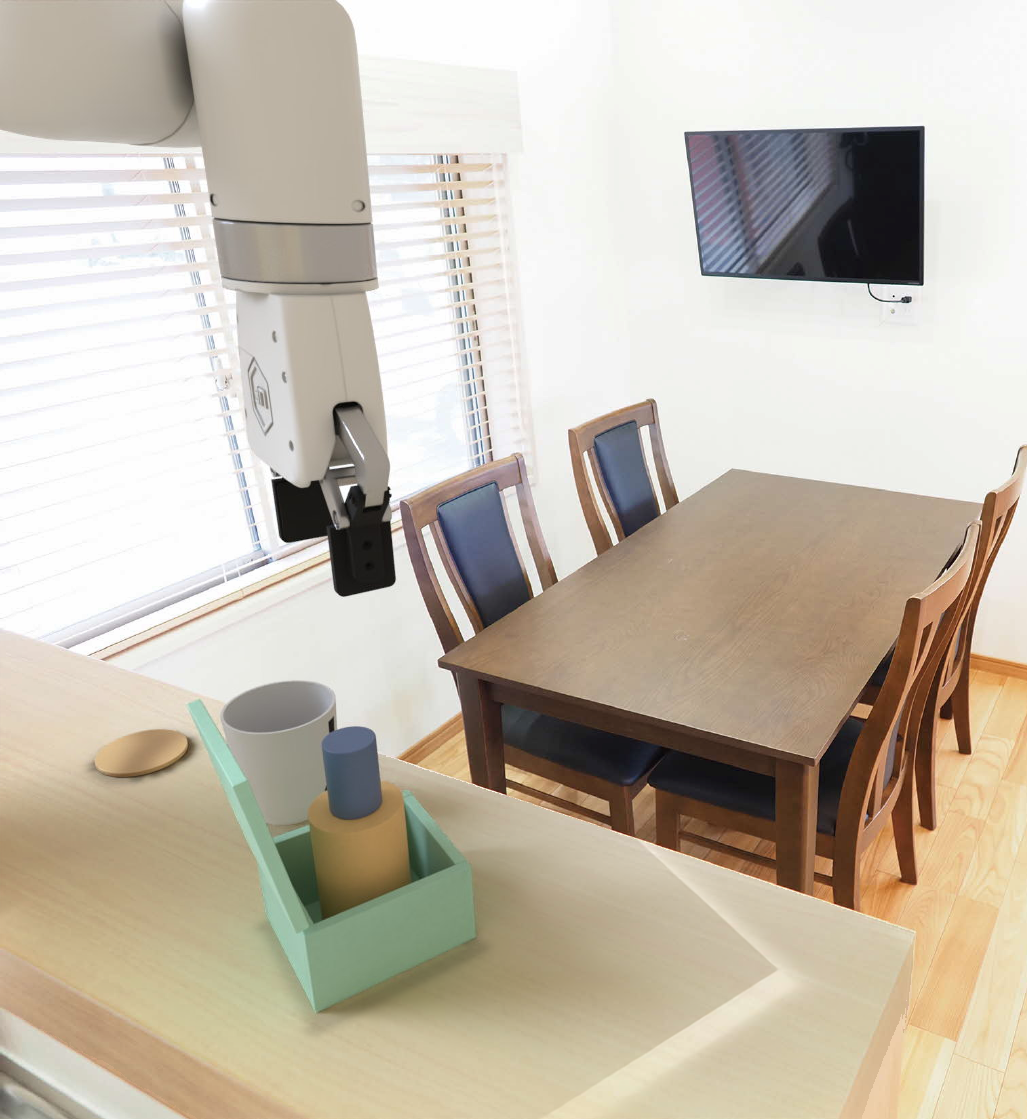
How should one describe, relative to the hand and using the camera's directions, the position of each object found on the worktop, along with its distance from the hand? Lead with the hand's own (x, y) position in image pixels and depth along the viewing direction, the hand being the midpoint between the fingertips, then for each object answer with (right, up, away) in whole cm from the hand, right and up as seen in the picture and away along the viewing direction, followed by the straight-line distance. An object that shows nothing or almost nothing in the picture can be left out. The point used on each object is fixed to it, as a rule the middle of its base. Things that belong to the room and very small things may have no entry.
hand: (335, 562), depth 56 cm
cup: (-13, -21, +22) cm, 33 cm away
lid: (-6, -15, +2) cm, 16 cm away
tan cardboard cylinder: (-2, -25, +10) cm, 27 cm away
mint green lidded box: (-2, -26, +10) cm, 28 cm away
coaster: (-29, -17, +28) cm, 44 cm away
